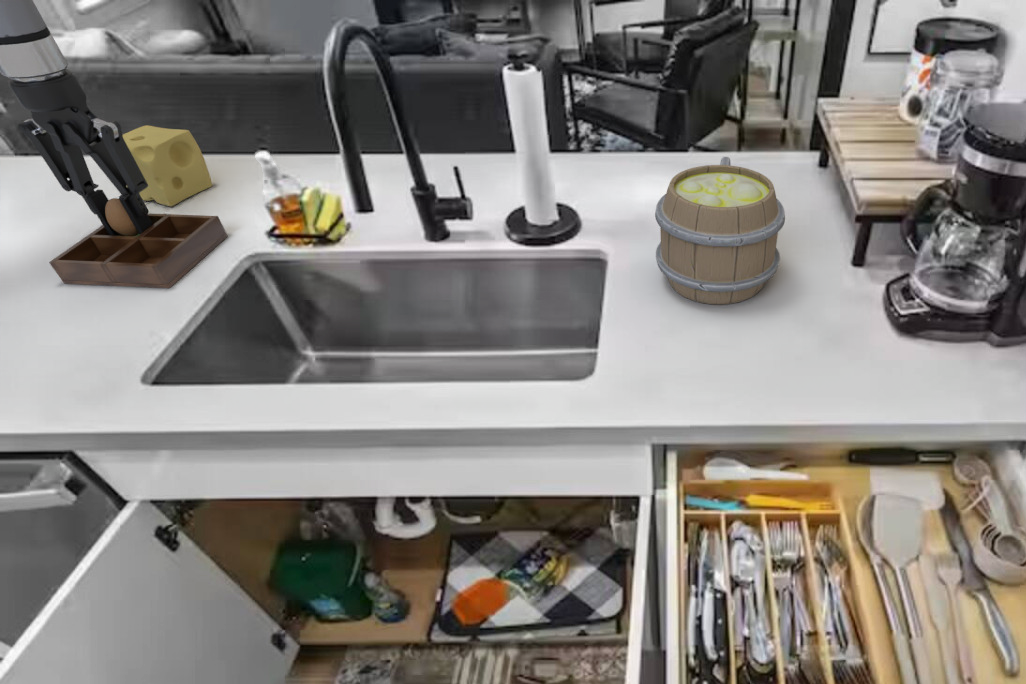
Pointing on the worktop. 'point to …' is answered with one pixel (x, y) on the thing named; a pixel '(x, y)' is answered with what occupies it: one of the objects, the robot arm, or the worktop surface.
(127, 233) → the egg
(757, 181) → the mug
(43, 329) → the worktop surface
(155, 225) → the grid
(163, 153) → the cheese
